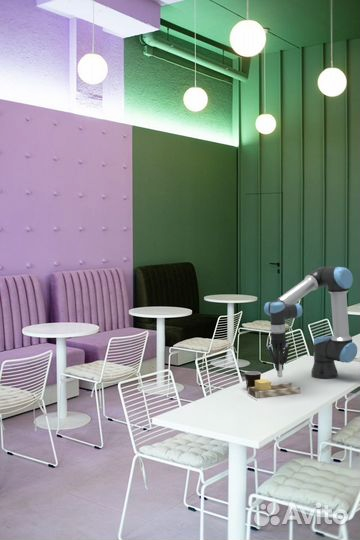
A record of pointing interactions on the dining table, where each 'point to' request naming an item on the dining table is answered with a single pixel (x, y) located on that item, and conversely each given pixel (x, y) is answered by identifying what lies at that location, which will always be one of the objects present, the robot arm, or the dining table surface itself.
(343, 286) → the robot arm
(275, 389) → the brown checkered tray
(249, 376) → the coffee mug
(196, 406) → the dining table surface
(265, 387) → the mustard block
